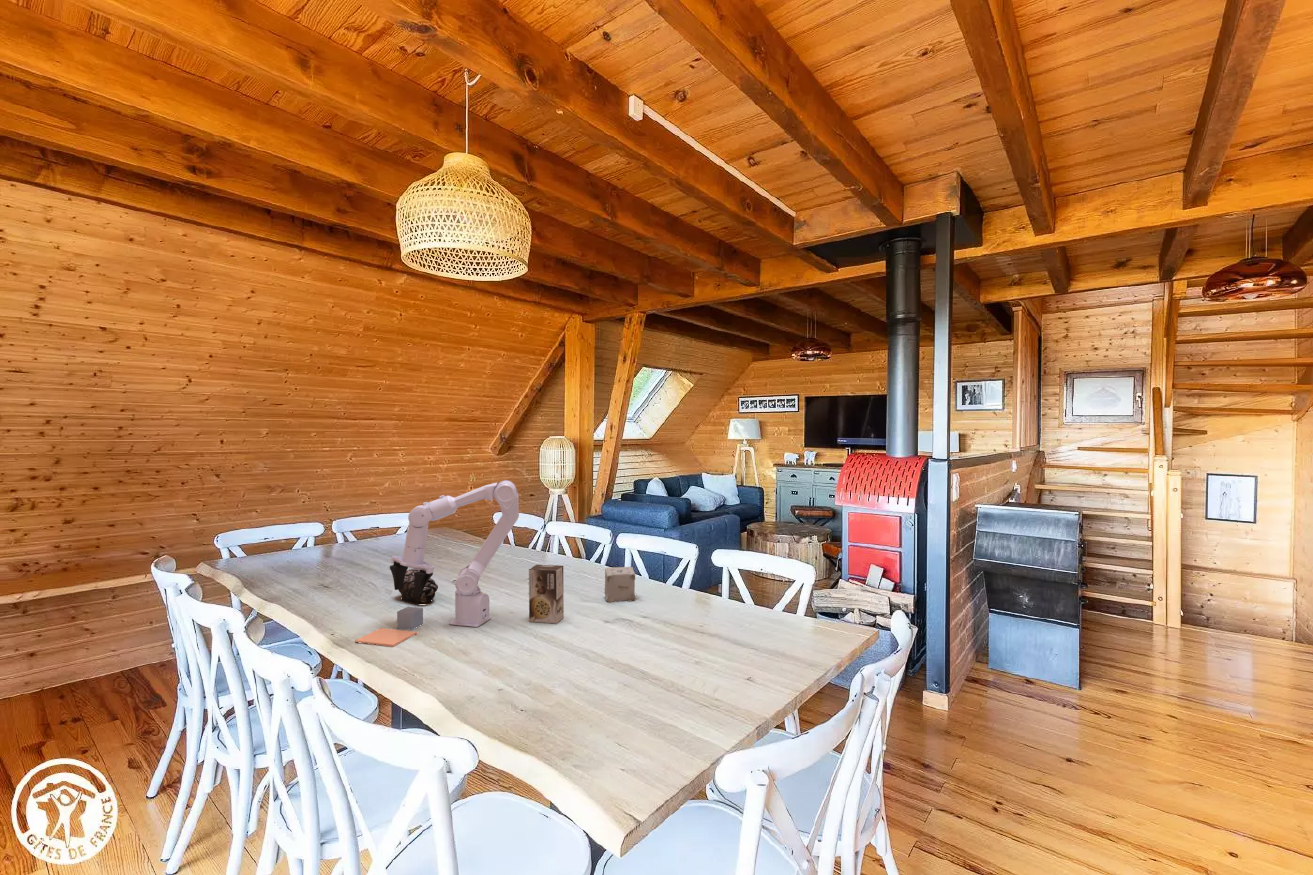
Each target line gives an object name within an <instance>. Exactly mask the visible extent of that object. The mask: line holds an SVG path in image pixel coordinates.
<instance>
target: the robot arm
mask: <svg viewBox="0 0 1313 875" xmlns="http://www.w3.org/2000/svg"><path fill="white" fill-rule="evenodd" d="M517 489H518V488H517V487H516V484H515V483H514V482H512V481H511V480H509V479H508V480H501V481H500V482H492V483H489V484H486V485H483V486H480V487H477V488H475V489H473V490H470V491H468V492H465V493H462V494H460V495H458V496H455V497H453V496H451V495H446V496H445V494H442V495H440V496H439V497H438V498H437V499H435V500H432V501H429V502H428V501H425V502H423V503H422V504H423V505H422V504H421V505H417V506H415V507H414V508H412V509H411V510H410V512H409V514H408V516H407V517H408V518H407V519H408V527H407V528H408V529H407V531H406V536H405V543H404V548H403V549H404V550H403V556H399V555H392V556H391V559H390V560H391V561H390V563H391V564H392V565H389V571H391V575H392V579H393V586H394V590H395V591H399V589H402V586H403V582H404V577H405V574H406V571H407V570H409V569H417V570H420V572H414V576H415V589H414V596H420V595H421V594H422V592H423V589H424V587H425V585H426V583H427V582H428V580H429V579H430V578H431V577H432V576H433V575H434V570H435V566H434V565H432V564H429V563H428V562H425V561H424V560H425V553H426V548H427V541H428V535H429V531H428V530H429V522H430V521H433V522H435V521H437V520H438V521H439V520H441V519H444V518H446V517H449V516H451V515H454V514H456V512H457V509H458V508H460V507H463V506H466V505H470V504H472V503H475V502H479V501H482V500H488V501H490V502H491V501H492V502H493V501H494V499H495V501H496V502H497V504H498V505H499V507H500V510H501V517H500V518H499V519H498V521H497V523H496V524H495V525H494V527H493V528H492V530H491V531H490V532H489V535H488V536H487V537H486V539H485V540H484V542H483V543H482V545H481V546H480V548H479V550H478V551H477V552H476V553H475V555H474V556H473V558H472V559H471V561H470V562H469V564H467V566H465V567H463V568H462V569H461V570H460V571H459V573H458V577H457V579H456V580H455V586H454V587H455V592H454V593H455V594H454V596H455V597H454V601H455V602H454V605H455V606H454V617H455V618H454V619H453V620H451V621H450V622H448V625H452V626H461V627H462V626H463V627H475V628H477V627H480V626H482V625H483V624H485V623H486V622H488V621H490V619H491V616H490V596H489V595H488V594H487V593H484V592H483V591H482V590H481V588H480V587H479V585H478V584H479V582H480V578H481V577H482V575H483V573H484V571H485V570H486V568H487V566H488V565H489V563H490V561H491V560H492V559H493V557H494V555H495V554H496V553H497V551H498V549H499V548H500V546H501V545H502V544H503V542H504V541H505V539H506V537H508V534H509V533H510V532H511V530H512V528H513V527H514V525H515V524H516V523H517V521H518V519H519V517H520V508H519V506H520V504H519V503H520V502H519V492H518V490H517Z"/></svg>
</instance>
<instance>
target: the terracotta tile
mask: <svg viewBox="0 0 1313 875" xmlns="http://www.w3.org/2000/svg"><path fill="white" fill-rule="evenodd" d="M415 634H416V635H418V632H417V631H413V630H404V629H391V628H383V627H381V628H377V629H375V630H374V631H372V632H370V633H368V634H365V635H364V636H362V637H359V638H357V639H355V640H354V643H355V642H361V643H360V644H362V643H369V644H368V645H371V644H376V645H375V646H380V645H383V646H382V647H388V646H389V648H390V647H391V648H394V647H396V646H397V645H399V644H401V642H402V643H404V642H405V641H407V640H409V639H411V638H412V637H411V636H413V635H415ZM416 635H415V636H416ZM410 637H411V638H410ZM413 637H414V636H413ZM408 638H409V639H408Z"/></svg>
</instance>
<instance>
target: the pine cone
mask: <svg viewBox="0 0 1313 875" xmlns="http://www.w3.org/2000/svg"><path fill="white" fill-rule="evenodd" d="M414 572H420V570H417V569H413V568H409V569H407V571H406V574H405V577H404V582H403V586H402V589H399V590H398V592H399V594H400V595H401V597H402V600H401V601H404V602H406V601H407V602H406V603H408V602H409V604H413V605H417V604H429V605H431V604H433V603H434V601H433V602H432V601H431V600H433V599H434V598H435V596H436V593H437V591H438V589H439V585H438V584H437V583H436V581H435V580H434V579H433V578H431V577H430V579H429V580H428V582H427V583H426V585H425V587H424V589H423V592H422V594H421V595H420V596H414V589H415V576H414Z"/></svg>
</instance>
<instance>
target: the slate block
mask: <svg viewBox="0 0 1313 875" xmlns="http://www.w3.org/2000/svg"><path fill="white" fill-rule="evenodd" d="M422 624H423V625H424V608H423V607H418V606H417V607H416V606H415V607H414V606H407V607H404V608H402V609H400V610H397V611H396V629H397V628H401V629H400V630H405V629H410V630H409V631H414V630H415V629H417V628H419V627H421V626H423V625H422ZM420 625H421V626H420ZM418 626H419V627H418ZM416 627H417V628H416ZM414 628H415V629H414Z"/></svg>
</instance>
